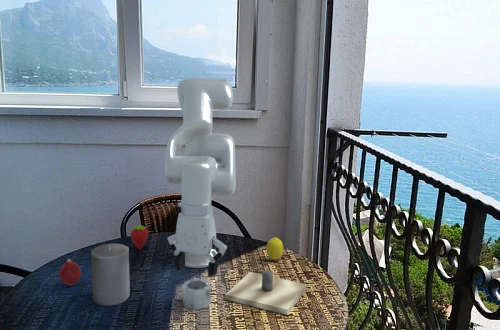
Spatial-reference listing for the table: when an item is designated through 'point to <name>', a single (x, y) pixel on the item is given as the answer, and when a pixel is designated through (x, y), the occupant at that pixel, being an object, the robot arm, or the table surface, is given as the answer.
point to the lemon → (274, 248)
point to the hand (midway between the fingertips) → (196, 272)
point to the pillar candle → (110, 274)
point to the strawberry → (139, 236)
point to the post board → (267, 292)
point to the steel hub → (196, 294)
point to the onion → (70, 273)
